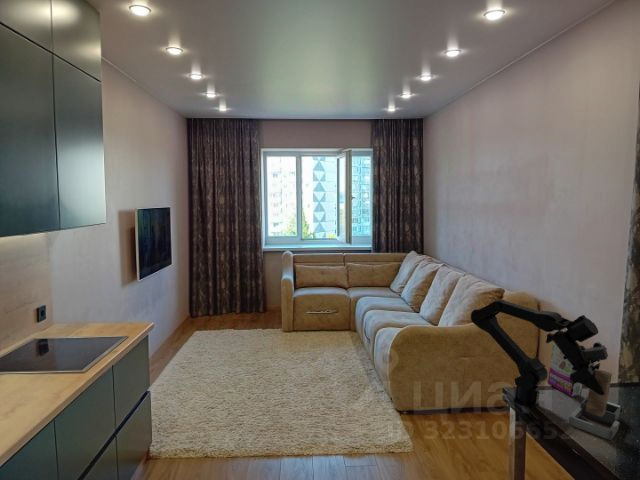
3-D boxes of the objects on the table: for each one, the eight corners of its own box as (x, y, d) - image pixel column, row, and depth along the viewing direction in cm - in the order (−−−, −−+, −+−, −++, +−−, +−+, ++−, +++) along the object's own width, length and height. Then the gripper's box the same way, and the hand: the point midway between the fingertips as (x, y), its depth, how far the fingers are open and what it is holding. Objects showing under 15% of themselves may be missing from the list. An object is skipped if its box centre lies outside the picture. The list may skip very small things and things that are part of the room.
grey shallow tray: (568, 423, 149) (569, 416, 149) (576, 414, 156) (578, 407, 156) (611, 440, 141) (612, 432, 141) (618, 429, 148) (619, 422, 147)
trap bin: (579, 413, 156) (581, 402, 156) (585, 407, 161) (587, 396, 161) (613, 426, 150) (615, 414, 149) (618, 419, 155) (620, 407, 154)
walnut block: (585, 411, 147) (592, 372, 146) (589, 406, 151) (595, 368, 149) (601, 417, 144) (608, 377, 143) (605, 412, 148) (611, 373, 146)
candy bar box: (581, 395, 170) (588, 352, 168) (571, 397, 168) (578, 354, 166) (556, 382, 180) (562, 341, 178) (546, 383, 179) (552, 342, 176)
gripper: (587, 343, 139) (625, 390, 134) (597, 329, 154) (632, 371, 149) (555, 360, 145) (590, 406, 140) (567, 345, 160) (599, 386, 155)
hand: (604, 392), depth 146 cm, fingers closed on walnut block, 5 cm apart
